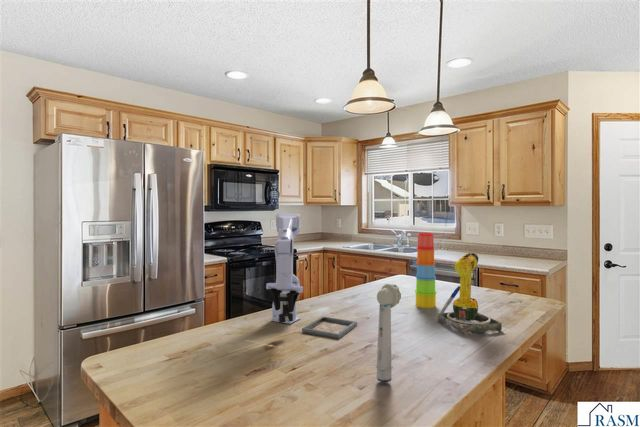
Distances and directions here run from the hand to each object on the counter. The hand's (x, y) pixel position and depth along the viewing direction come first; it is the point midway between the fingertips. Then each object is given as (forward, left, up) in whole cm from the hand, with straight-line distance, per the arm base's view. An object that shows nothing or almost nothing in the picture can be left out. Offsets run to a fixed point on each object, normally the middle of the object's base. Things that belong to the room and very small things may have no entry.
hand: (284, 310), depth 128 cm
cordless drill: (+58, +44, -10) cm, 73 cm away
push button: (0, 0, -4) cm, 4 cm away
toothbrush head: (+42, -14, -9) cm, 45 cm away
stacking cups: (+37, +63, -9) cm, 74 cm away
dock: (+11, +15, -9) cm, 21 cm away
